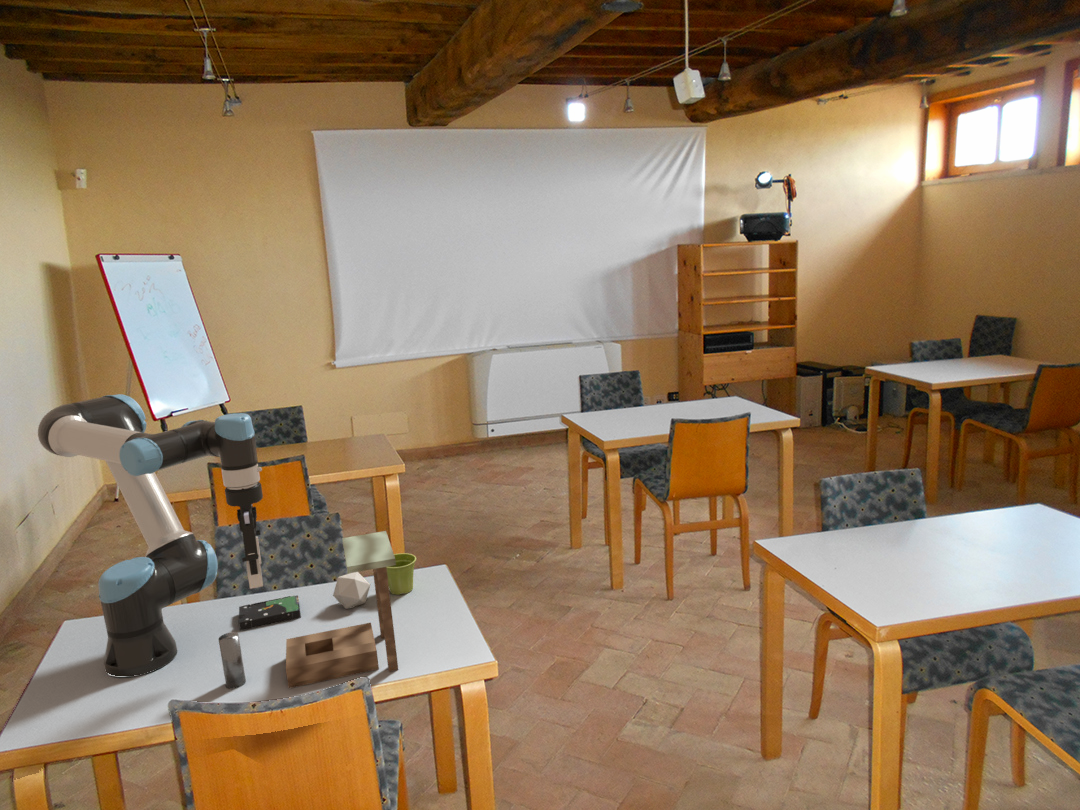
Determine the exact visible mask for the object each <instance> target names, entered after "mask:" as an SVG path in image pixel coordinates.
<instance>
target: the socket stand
mask: <svg viewBox="0 0 1080 810" xmlns="http://www.w3.org/2000/svg"><path fill="white" fill-rule="evenodd" d="M341 540H342V545H343V546H342V547H343V553H344V557H345V564H346V565H345V566H346V571H347V574H349V573H354V572H358V573H360V572H365V571H369V570H372V573H373V581H374V589H375V590H374V591H375V598H376V607H377V608H376V609H377V614H378V615H377V616H378V622H379V632H380V633H379V634H380V638H381V639H384V643H385V652H386V659H387V667H388V671H390V672H393V671H398V670H399V663H398V656H397V655H398V654H397V653H398V652H397V646H396V637H395V636H396V635H395V630H394V629H395V628H394V620H393V619H394V618H393V613H392V612H393V611H392V604H391V602H392V601H391V592H390V589H389V584H388V576H387V567H388V566H393V565H396V561H395V556H394V554H395V553H394V551H393V548H392V544H391V542H390V541H391V540H390V539H389V536H388V533H387V530H383V531H378V532H371V533H366V534H359V535H353V536H347V537H342V538H341ZM285 645H286V647H285V648H286V649H285V651H286V653H285V673H286V678H287V679H286V680H287V686H288V689H293V688H296V687H297V688H298V687H303V686H306V685H307V686H308V685H310V684H316V683H320V682H321V683H322V682H326V681H331V680H336V679H340V678H344V677H348V676H353V675H357V674H363V673H367V672H372V671H376V670H379V669H380V666H379V661H378V660H379V657H378V650H377V646H376V645H377V644H376V640H375V636H374V631H373V627H372V622H367V623H361V624H356V625H352V626H346V627H342V628H337V629H332V630H326V631H321V632H315V633H310V634H306V635H302V636H295V637H290V638H286V644H285Z"/></svg>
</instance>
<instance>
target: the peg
mask: <svg viewBox="0 0 1080 810" xmlns="http://www.w3.org/2000/svg"><path fill="white" fill-rule="evenodd" d="M218 644H219V651H220V657H221V662H222V668H223V674H224V680H225V686H226V688H227V689H231V690H232V689H237V688H239V687H240V688H241V687H242V686H244V685H245V684H246V681H247V680H246V674H245V667H244V662H243V656H242V649H241V643H240V637H239V633H238V632H234V631H231V632H227V633H224V634H221V635H220V636H219V637H218Z"/></svg>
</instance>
